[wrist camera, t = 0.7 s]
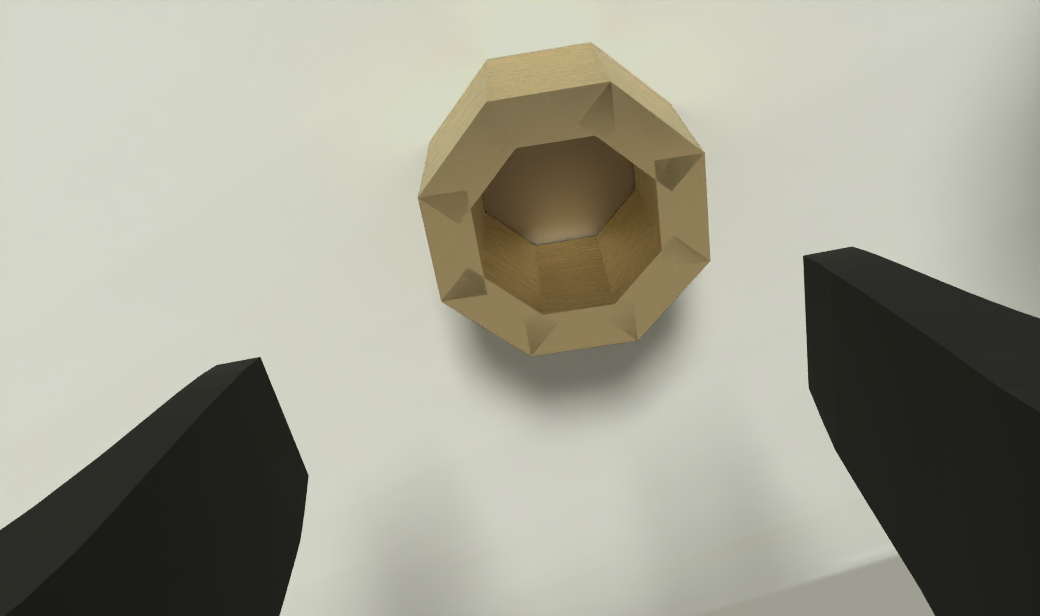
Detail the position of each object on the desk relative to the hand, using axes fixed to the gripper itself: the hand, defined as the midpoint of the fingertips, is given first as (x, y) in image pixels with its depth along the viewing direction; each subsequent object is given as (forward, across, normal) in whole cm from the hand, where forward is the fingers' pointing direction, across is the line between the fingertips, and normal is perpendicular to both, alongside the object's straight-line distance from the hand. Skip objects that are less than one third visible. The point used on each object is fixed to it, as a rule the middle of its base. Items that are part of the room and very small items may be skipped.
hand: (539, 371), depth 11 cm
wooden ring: (+9, -1, +1) cm, 9 cm away
